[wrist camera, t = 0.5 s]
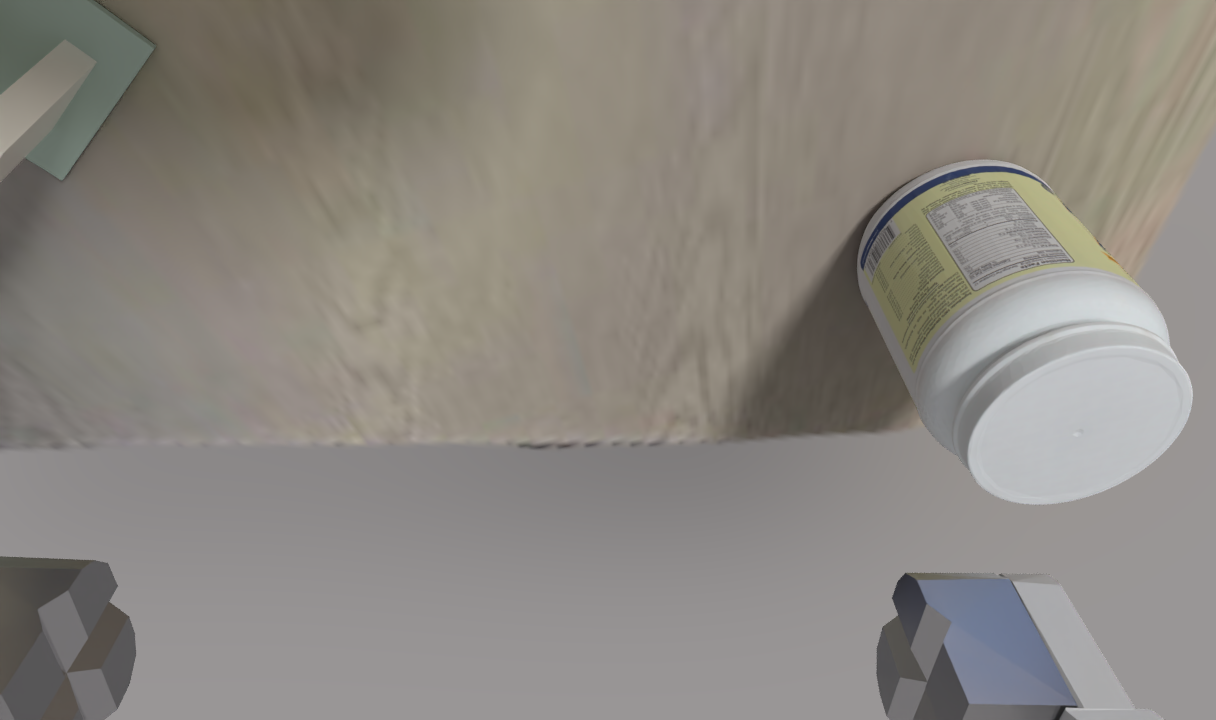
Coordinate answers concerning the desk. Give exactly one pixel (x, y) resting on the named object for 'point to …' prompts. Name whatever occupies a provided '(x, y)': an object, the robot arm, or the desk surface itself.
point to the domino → (39, 102)
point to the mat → (65, 10)
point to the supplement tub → (1020, 334)
